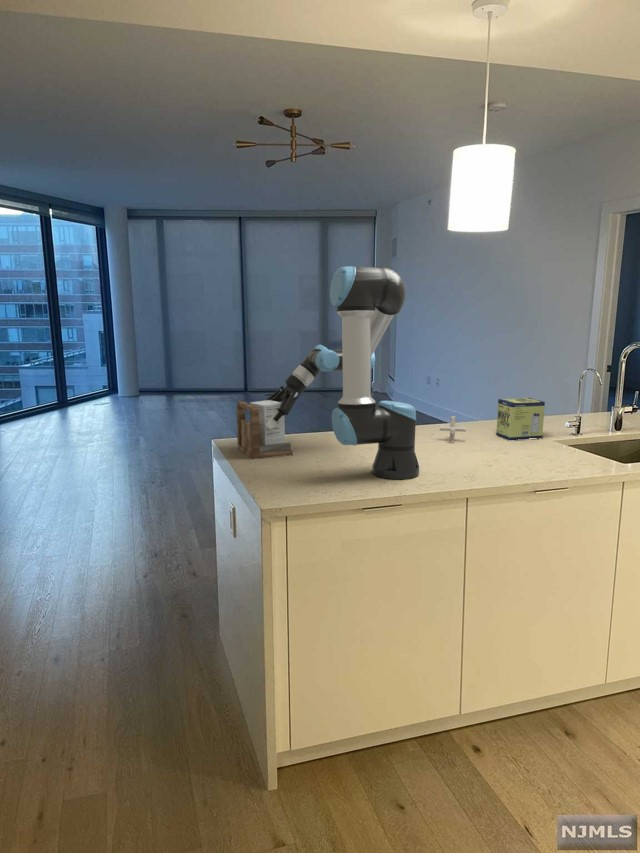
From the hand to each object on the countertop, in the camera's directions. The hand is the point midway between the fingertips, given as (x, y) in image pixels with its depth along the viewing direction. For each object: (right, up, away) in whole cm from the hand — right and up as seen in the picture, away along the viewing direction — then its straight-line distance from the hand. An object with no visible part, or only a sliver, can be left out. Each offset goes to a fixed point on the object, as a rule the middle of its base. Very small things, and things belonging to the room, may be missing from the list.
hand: (261, 423), depth 219 cm
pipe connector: (+74, -7, +21) cm, 77 cm away
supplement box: (+2, -9, +3) cm, 10 cm away
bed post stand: (+1, -10, +3) cm, 11 cm away
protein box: (+104, -6, +29) cm, 108 cm away
